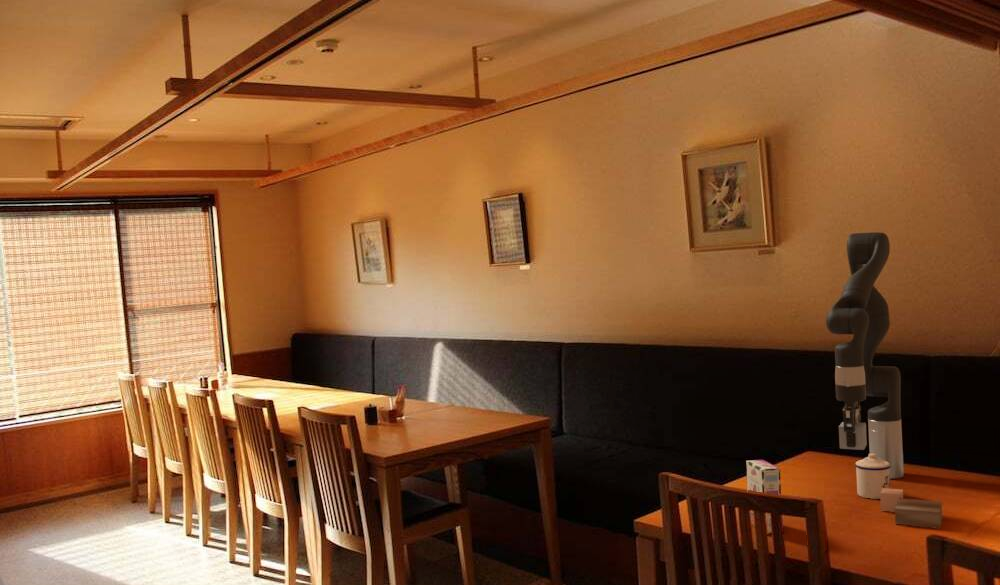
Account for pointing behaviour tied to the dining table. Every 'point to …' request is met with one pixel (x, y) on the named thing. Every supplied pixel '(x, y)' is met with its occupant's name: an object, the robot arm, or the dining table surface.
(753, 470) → the candy bar box
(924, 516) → the walnut plinth
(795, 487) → the dining table surface
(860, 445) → the slate block
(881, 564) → the dining table surface
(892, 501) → the terracotta block
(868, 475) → the teacup with lid
